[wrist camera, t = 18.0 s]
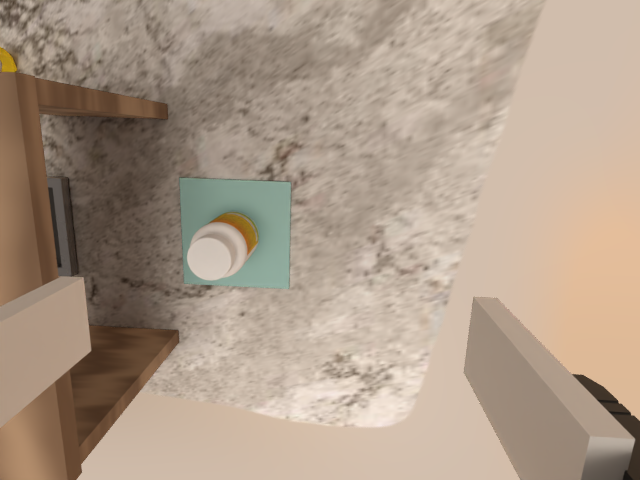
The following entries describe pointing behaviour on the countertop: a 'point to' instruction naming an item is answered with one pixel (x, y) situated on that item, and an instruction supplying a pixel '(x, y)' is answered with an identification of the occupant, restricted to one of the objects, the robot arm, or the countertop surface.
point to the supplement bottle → (222, 246)
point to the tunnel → (41, 268)
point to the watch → (7, 61)
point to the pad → (256, 202)
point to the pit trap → (62, 225)
